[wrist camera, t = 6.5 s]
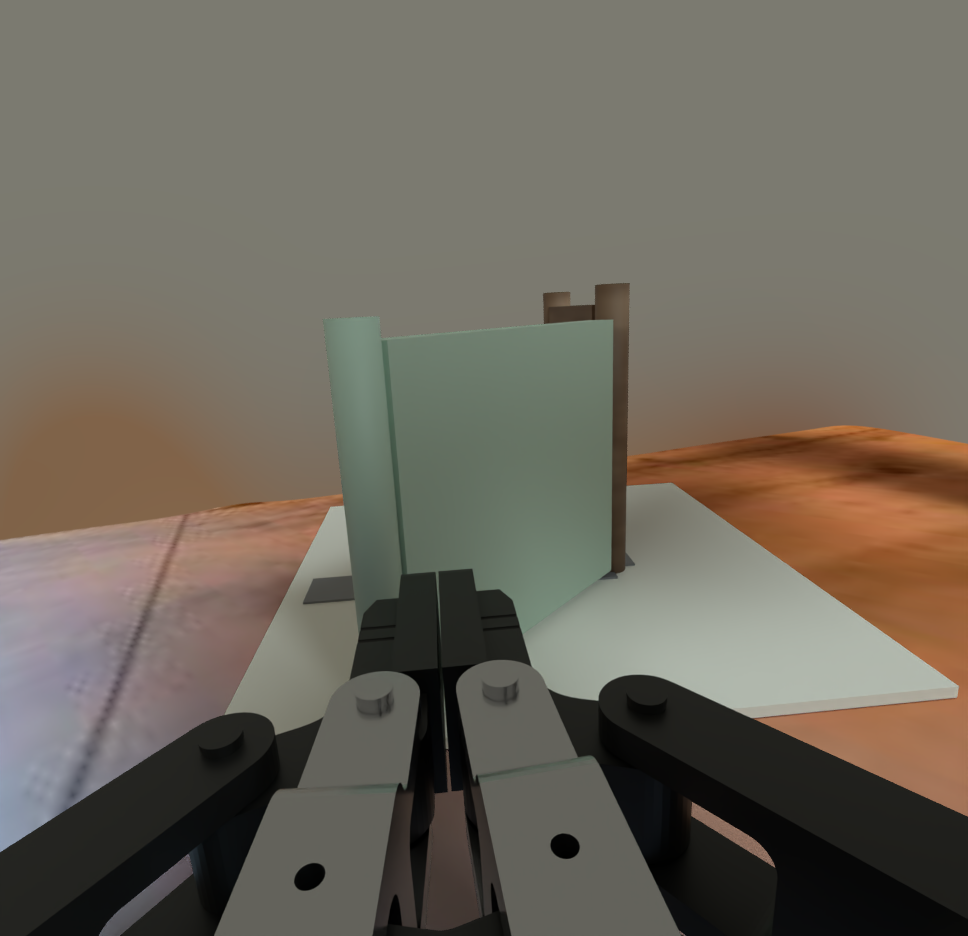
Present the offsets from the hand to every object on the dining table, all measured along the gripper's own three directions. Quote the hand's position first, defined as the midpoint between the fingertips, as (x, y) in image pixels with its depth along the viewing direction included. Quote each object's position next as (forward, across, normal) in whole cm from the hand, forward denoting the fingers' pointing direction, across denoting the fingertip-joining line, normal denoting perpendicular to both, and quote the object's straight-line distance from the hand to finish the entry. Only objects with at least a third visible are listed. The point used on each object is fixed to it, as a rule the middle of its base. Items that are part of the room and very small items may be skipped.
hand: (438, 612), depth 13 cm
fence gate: (+9, -2, +6) cm, 11 cm away
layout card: (+15, -4, +6) cm, 17 cm away
